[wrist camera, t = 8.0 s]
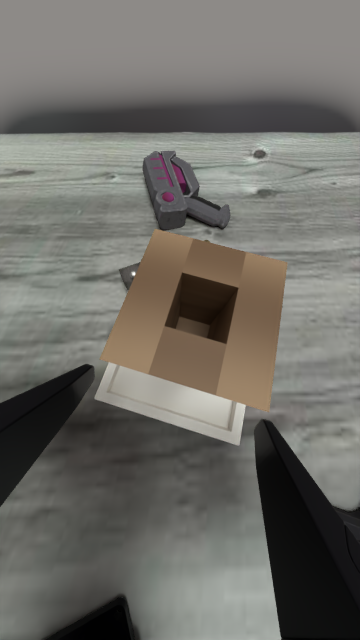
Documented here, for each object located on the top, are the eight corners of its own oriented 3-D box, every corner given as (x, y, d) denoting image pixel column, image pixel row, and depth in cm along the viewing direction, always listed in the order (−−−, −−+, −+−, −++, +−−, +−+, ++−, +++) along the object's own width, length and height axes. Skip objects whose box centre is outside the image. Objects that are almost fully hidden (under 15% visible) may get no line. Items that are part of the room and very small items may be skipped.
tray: (233, 438, 15) (239, 446, 14) (101, 396, 16) (94, 398, 15) (254, 311, 19) (261, 306, 17) (146, 281, 20) (144, 274, 18)
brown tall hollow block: (202, 382, 16) (270, 414, 5) (152, 366, 16) (97, 360, 5) (214, 332, 17) (288, 261, 6) (168, 319, 18) (154, 227, 6)
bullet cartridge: (130, 294, 19) (123, 283, 17) (123, 276, 20) (117, 264, 17) (211, 264, 21) (215, 251, 18) (202, 249, 21) (206, 235, 19)
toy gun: (201, 169, 27) (139, 172, 25) (206, 142, 24) (137, 143, 22) (230, 235, 23) (161, 244, 21) (241, 213, 20) (162, 222, 18)
